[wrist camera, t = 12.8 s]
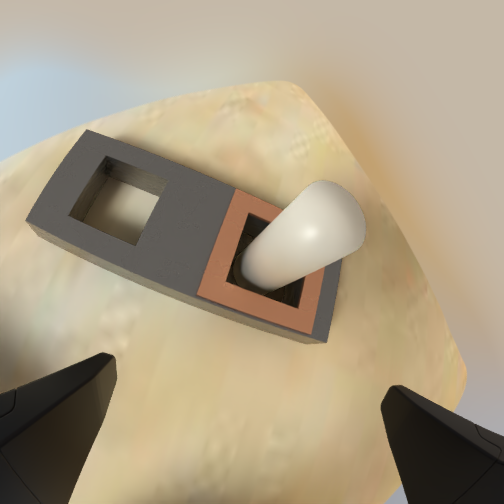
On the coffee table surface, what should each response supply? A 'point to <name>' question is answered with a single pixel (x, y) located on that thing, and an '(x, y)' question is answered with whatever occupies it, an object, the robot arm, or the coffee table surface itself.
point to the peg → (302, 239)
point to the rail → (179, 237)
